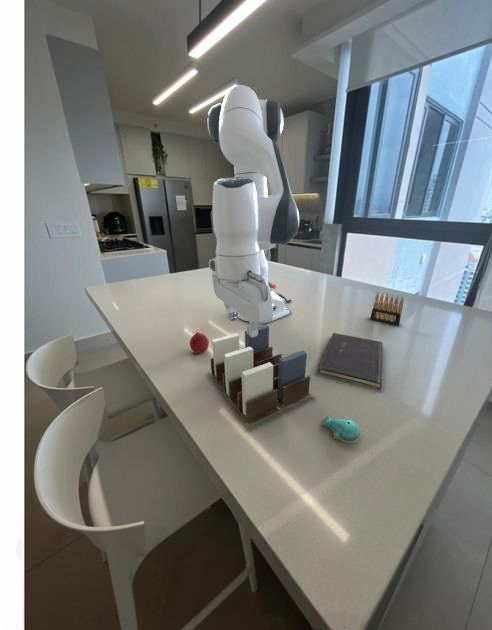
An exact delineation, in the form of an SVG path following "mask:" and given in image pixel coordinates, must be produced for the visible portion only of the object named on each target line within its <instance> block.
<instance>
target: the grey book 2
mask: <svg viewBox="0 0 492 630" xmlns="http://www.w3.org/2000/svg"><path fill="white" fill-rule="evenodd" d="M307 358H308V352H307V351H305V350H300V351H297V352H295V353H292V354H289V355H286V356H282V358H280V359H279V376H278V398H279V399H280V400H281V401H282V387H283V386H285V385H287V384H290V383H292V382H295V381H297V380H299V379H302V378H304V377H306V371H307Z"/></svg>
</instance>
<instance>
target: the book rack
mask: <svg viewBox="0 0 492 630" xmlns="http://www.w3.org/2000/svg"><path fill="white" fill-rule="evenodd" d="M244 348H245V347H241V349H244ZM273 349H274V348H273V346H269V347H268V348H265V349H262V350H259V351H256V352H253V368H255V367H258V366H260V365H263V364H266V363H269V362H270V363H271V364H272V365H273V391H271V392H269V393H266V394H264V395H262V396H259V397H257V398H254V399H252V400H250V401H247V402H245V410H246V416H245V415H244V414H243V401H242V377H240V378H237V379H234V380H232V381H229V396H228V394H227V393H226V381H225V365H224V362H222V363H219V364H216V365H215V368H216V376H215V370H214V358H213V357H209V362H210V372H209V373H210V374H211V376H212V377H213V378H214V380H215V381H216V382H217V384H218V385H219V386H220V388H221V389H222V390H223V392H224V393H225V394H226V396H227V397H228V399H229V401H230V402H231V403H232V404H233V406H234V407H235V408H236V410H237V411H238V412H239V413H240V415H241V416H242V417H243V419H244V421H245V422H246V423H247V424H248V426H251V425H253V424H255V423H257V422H259V421H262V420H264V419H265V418H268V417H269V416H272V415H274V414H276V413H279V412H280V411H281V410H280V409H279V408H278V402H279V404H281V406H283V408H284V409H286V408H289V407H291V406H293V405H295V404H297V403H299V402H301V401H303V400H305V399H308V398H310V397H311V396H312V395H311V393H310V383H311V375H305V377H304V378H302V379H299V380H297V381H295V382H292V383H290V384H287V385H285V386H283V387H282V401H281V400H280V399H279V398H278V376H279V359H280V358H283V354H282V353H277V354H275V355H273Z"/></svg>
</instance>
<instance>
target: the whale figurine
mask: <svg viewBox="0 0 492 630" xmlns="http://www.w3.org/2000/svg"><path fill="white" fill-rule="evenodd" d="M321 425H322V426H323V427H326V428H329V429H330V430H331V431H332V433H333V435H332V437H333V439H335V440H340V441H341V442H343V443H346V444H354V443H356V442H357V441H358V440H359V439H360V428H359V427H358V424H357V423H355V422H354V421H353V420H351V419H346V418H345V419H339V418H338V419H337V418H336V419H332V417H331V416H326V418H325V420H324V421H322V423H321Z"/></svg>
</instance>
